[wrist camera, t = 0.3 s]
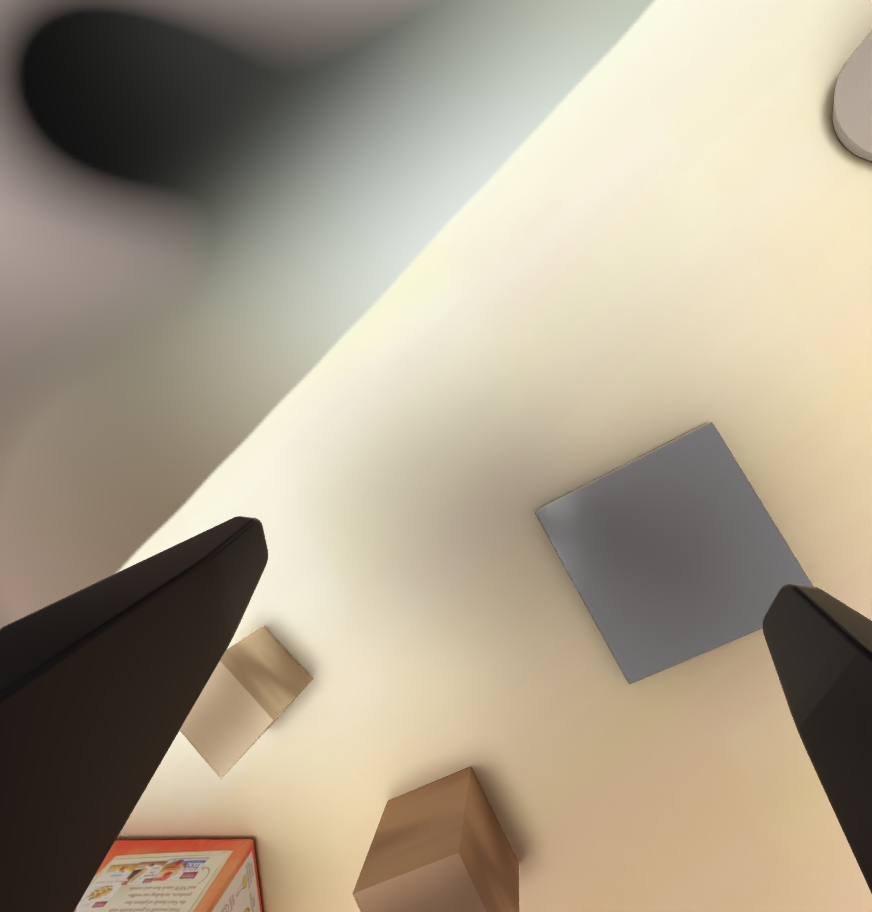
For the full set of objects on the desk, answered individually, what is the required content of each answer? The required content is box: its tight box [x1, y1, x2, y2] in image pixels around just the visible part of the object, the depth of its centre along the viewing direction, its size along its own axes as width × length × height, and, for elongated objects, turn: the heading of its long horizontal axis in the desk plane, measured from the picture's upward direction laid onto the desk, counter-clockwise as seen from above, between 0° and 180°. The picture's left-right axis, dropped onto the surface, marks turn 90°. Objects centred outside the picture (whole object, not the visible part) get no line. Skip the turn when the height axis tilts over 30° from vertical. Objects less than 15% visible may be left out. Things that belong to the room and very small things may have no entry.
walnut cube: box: [353, 767, 519, 912], centre depth 19 cm, size 5×5×5 cm
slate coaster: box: [534, 422, 813, 684], centre depth 20 cm, size 9×9×1 cm
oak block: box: [180, 626, 313, 779], centre depth 22 cm, size 4×4×4 cm
